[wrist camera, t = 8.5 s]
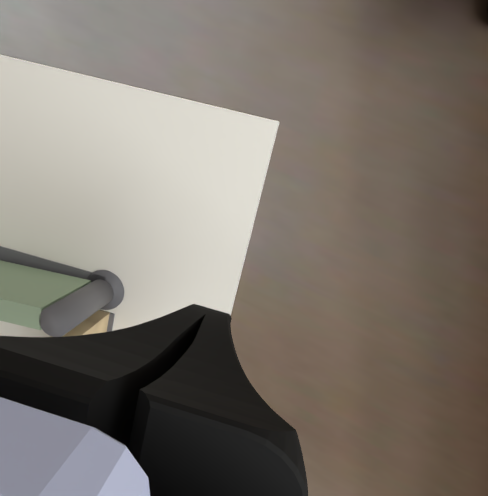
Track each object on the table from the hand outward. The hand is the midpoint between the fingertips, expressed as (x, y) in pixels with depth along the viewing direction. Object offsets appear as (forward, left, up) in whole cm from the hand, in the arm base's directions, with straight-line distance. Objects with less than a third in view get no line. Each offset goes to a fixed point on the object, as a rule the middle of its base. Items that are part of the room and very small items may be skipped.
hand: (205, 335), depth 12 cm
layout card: (-3, +10, -9) cm, 14 cm away
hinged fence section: (-4, +14, -9) cm, 17 cm away
